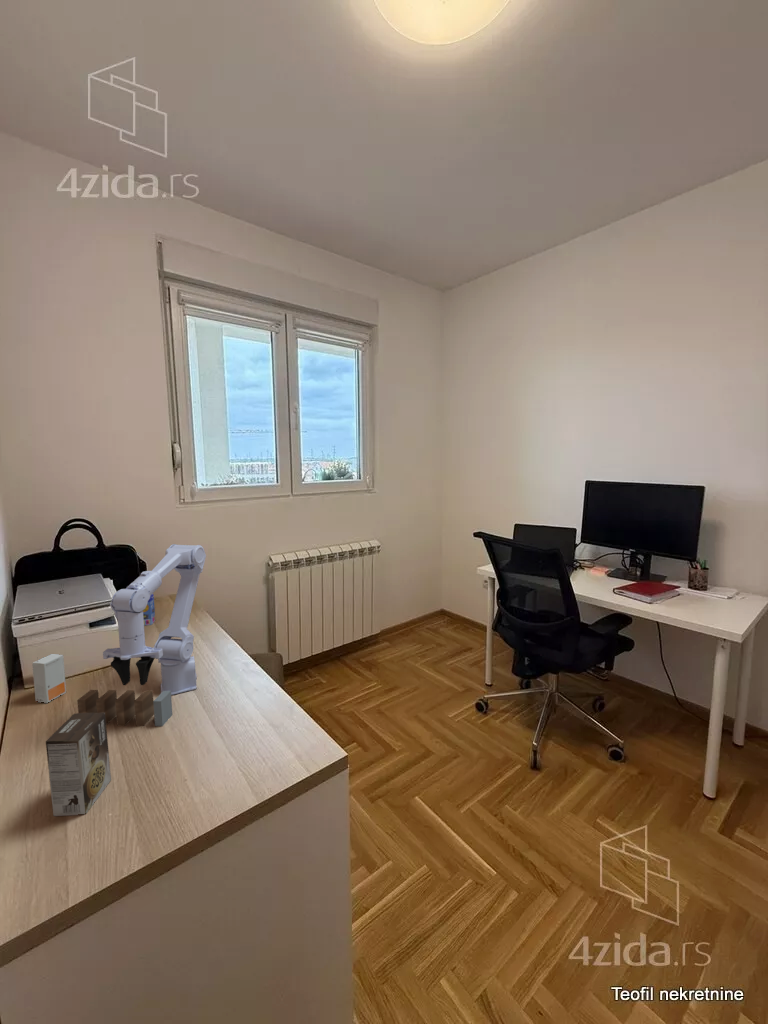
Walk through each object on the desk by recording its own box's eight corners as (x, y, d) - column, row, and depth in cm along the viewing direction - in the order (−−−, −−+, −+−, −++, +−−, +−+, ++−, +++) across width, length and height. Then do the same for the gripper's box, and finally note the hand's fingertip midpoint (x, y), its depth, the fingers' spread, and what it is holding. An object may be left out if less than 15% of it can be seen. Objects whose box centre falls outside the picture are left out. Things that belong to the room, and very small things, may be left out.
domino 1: (79, 725, 109) (77, 700, 108) (92, 713, 114) (90, 689, 113) (86, 725, 109) (84, 700, 108) (100, 713, 114) (98, 689, 113)
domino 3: (117, 725, 109) (115, 700, 108) (129, 714, 114) (127, 690, 113) (124, 725, 109) (122, 700, 108) (136, 714, 114) (134, 690, 113)
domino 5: (155, 726, 109) (153, 701, 108) (165, 714, 114) (163, 690, 113) (162, 726, 109) (161, 701, 108) (172, 714, 114) (171, 690, 113)
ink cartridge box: (125, 627, 173) (123, 593, 171) (130, 622, 178) (128, 589, 176) (151, 625, 175) (149, 591, 173) (155, 620, 180) (153, 588, 179)
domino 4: (136, 725, 109) (134, 700, 108) (147, 714, 114) (145, 690, 113) (143, 726, 109) (141, 700, 108) (154, 714, 114) (152, 690, 113)
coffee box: (81, 781, 90) (74, 712, 88) (112, 780, 91) (106, 710, 89) (51, 817, 81) (43, 741, 79) (86, 815, 82) (79, 739, 80)
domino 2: (98, 725, 109) (96, 700, 108) (110, 713, 114) (108, 689, 113) (105, 725, 109) (103, 700, 108) (118, 713, 114) (116, 690, 113)
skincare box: (47, 704, 118) (43, 664, 117) (35, 702, 119) (31, 662, 118) (67, 692, 124) (63, 654, 123) (55, 690, 125) (52, 653, 124)
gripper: (93, 640, 104) (97, 691, 106) (151, 640, 105) (154, 691, 106) (111, 629, 111) (115, 677, 113) (165, 629, 112) (168, 677, 113)
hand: (135, 683), depth 110 cm, fingers open, 4 cm apart
